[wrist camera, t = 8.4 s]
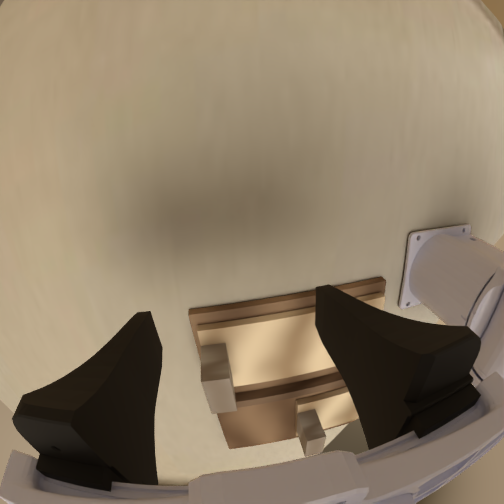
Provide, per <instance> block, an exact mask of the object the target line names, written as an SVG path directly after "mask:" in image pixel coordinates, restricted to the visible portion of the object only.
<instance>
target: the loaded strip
mask: <svg viewBox="0 0 504 504" xmlns="http://www.w3.org/2000/svg"><path fill="white" fill-rule="evenodd" d="M358 418H359V416H358V413H357V411H356V408H355V405H354V403H353V400H352V398H351V395H350V393H349V391H348V388H347V387H344V388H341V389H338V390H334V391H330V392H327V393H323V394H319V395H315V396H311V397H307V398H303V399H298V400H296V413H295V433H296V436H299V439H300V442H301V445H302V448H303V452H304V455H305V457H306V456H310V455H314V454H318V453H321V452H323V448H324V443H325V439H326V435H325V432H324V430H323V429H326V428H330V427H333V426H337V425H340V424H343V423H346V422H349V421H352V420H355V419H358Z"/></svg>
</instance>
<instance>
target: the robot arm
mask: <svg viewBox="0 0 504 504" xmlns="http://www.w3.org/2000/svg"><path fill="white" fill-rule="evenodd" d="M417 236H418V238H417ZM407 302H408V303H407ZM421 303H423V304H424V305H425V306H426V307H427V308H428V309H430V310H431V311H432V312H433V313H434V314H435V315H436V316H437V317H439V318H440V319H441V320H442V321H443V322H444V323H445V324H446V325H438V324H431V323H425V322H420V321H415V320H411V319H407V318H403V317H400V316H397V315H394V314H391V313H388V312H385V311H383V310H380V309H378V308H376V307H373V306H371V305H369V304H367V303H365V302H363V301H361V300H359V299H357V298H355V297H353V296H351V295H349V294H347V293H345V292H343V291H341V290H339V289H337V288H335V287H333V286H331V285H324V286H319V287H316V306H315V326H316V329H317V331H318V334H319V337H320V339H321V341H322V343H323V345H324V347H325V349H326V350H327V352H328V354H329V356H330V357H331V359H332V361H333V362H334V364H335V366H336V368H337V369H338V371H339V373H340V374H341V376H342V378H343V380H344V382H345V384H346V386H347V388H348V391H349V393H350V395H351V398H352V400H353V403H354V405H355V408H356V411H357V413H358V416H359V419H360V422H361V425H362V428H363V431H364V434H365V437H366V441H367V444H368V447H369V450H368V451H365V452H363V453H360V454H357V455H354V453H352V452H346V451H339V450H337V451H332V452H326V453H321V454H317V455H313V456H309V457H305V458H301V459H297V460H292V461H288V462H283V463H278V464H273V465H267V466H261V467H255V468H248V469H240V470H232V471H222V472H216V473H211V474H205V475H201V476H199V477H197V478H195V479H193V480H192V481H190V482H189V483H188V486H159V485H158V478H157V470H156V458H155V439H154V416H155V406H156V399H157V393H158V387H159V381H160V375H161V369H162V345H161V342H160V339H159V336H158V333H157V330H156V327H155V324H154V321H153V318H152V315H151V312H150V311H147V312H137V313H136V314H135V315H134V316H133V317H132V318H131V319H130V320H129V321H128V322H127V323H126V324H125V325H124V326H123V327H122V328H121V330H120V331H119V332H118V333H117V334H116V335H115V336H114V337H113V338H112V339H111V340H110V341H109V342H108V343H107V344H106V345H105V346H103V347H102V348H101V349H100V350H99V351H98V352H97V353H96V354H95V355H94V356H92V357H91V358H90V359H89V360H87V361H86V362H85V363H84V364H82V365H81V366H79V367H78V368H76V369H75V370H73V371H72V372H70V373H69V374H67V375H66V376H64V377H62V378H61V379H59V380H57V381H55V382H53V383H51V384H49V385H47V386H45V387H43V388H40V389H38V390H35V391H33V392H30V393H27V394H24V395H23V396H22V398H21V400H20V402H19V405H18V407H17V409H16V411H15V413H14V416H13V418H12V420H13V423H14V426H15V427H16V429H17V431H18V432H19V433H20V434H21V435H22V436H23V437H24V438H25V439H26V440H27V441H28V442H29V443H30V444H31V445H32V446H33V447H34V448H35V449H36V450H37V451H38V452H39V453H40V455H39V459H36V458H35V457H33V456H30V455H28V454H25V453H22V452H18V451H16V450H12V452H11V455H10V458H9V461H8V463H7V467H6V470H5V473H4V476H3V480H2V483H1V487H0V498H1V499H3V500H4V501H5V502H7V503H8V504H416V502H418V501H419V500H421V499H423V498H425V497H426V496H428V495H430V494H431V493H433V492H434V491H436V490H437V489H439V488H440V487H442V486H443V485H445V484H447V483H448V482H449V481H451V480H452V479H454V478H455V477H456V476H458V475H459V474H461V473H462V472H463V471H464V470H466V469H467V468H468V467H470V466H471V465H472V464H474V463H475V462H476V461H477V460H479V459H480V458H481V457H482V456H483V455H485V454H486V453H487V452H488V451H489V450H491V449H492V448H493V447H494V446H495V445H496V444H497V443H498V442H499V441H500V440H501V439H502V438H503V437H504V251H502V250H500V249H498V248H496V247H494V246H492V245H491V244H489V243H487V242H485V241H483V240H481V239H479V238H477V237H475V236H473V235H471V226H470V225H469V224H465V225H458V226H451V227H445V228H438V229H431V230H424V231H417V232H412V233H411V234H410V235H409V238H408V247H407V255H406V263H405V270H404V277H403V283H402V289H401V295H400V300H399V307H400V308H401V309H405V308H409V307H412V306H415V305H418V304H421ZM471 383H472V384H473V385H474V386H475V387H476V388H475V387H474V386H473V385H472V384H471Z"/></svg>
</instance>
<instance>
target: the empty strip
mask: <svg viewBox="0 0 504 504" xmlns="http://www.w3.org/2000/svg"><path fill="white" fill-rule="evenodd" d="M357 299H359V300H361V301H363V302H365V303H367V304H369V305H371V306H373V307H376V308H378V309H380V310H383V308H384V302H385V295H383V294H382V293H381V292H379V293H375V294H370V295H366V296H362V297H357ZM197 333H198V337H199V341H200V345H201V383H202V386H203V389H204V392H205V395H206V398H207V401H208V404H209V407H210V410H211V413H212V414H215V413H224V412H232V411H237V406H236V399H235V392H234V387H236V386H243V385H249V384H255V383H261V382H267V381H272V380H278V379H283V378H288V377H293V376H297V375H302V374H306V373H310V372H315V371H319V370H323V369H327V368H331V367H335V364H334V362H333V361H332V359H331V357H330V356H329V354H328V352H327V350H326V349H325V347H324V345H323V343H322V341H321V339H320V337H319V334H318V331H317V329H316V326H315V307H310V308H304V309H299V310H294V311H288V312H282V313H277V314H271V315H265V316H259V317H252V318H246V319H239V320H233V321H226V322H219V323H211V324H203V325H197Z"/></svg>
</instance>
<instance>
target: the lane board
mask: <svg viewBox="0 0 504 504" xmlns="http://www.w3.org/2000/svg"><path fill="white" fill-rule="evenodd" d="M385 286H386V280H385V279H384V278H383V277H378V278H374V279H369V280H364V281H359V282H354V283H349V284H344V285H339V286H334V287H335V288H337V289H339V290H341V291H343V292H345V293H347V294H349V295H351V296H353V297H355V298H357V297H362V296H366V295H370V294H375V293H379V292H381V293H382V294H383V295H384V293H385ZM315 306H316V290H313V291H307V292H302V293H296V294H290V295H284V296H278V297H272V298H266V299H260V300H254V301H247V302H240V303H234V304H227V305H220V306H212V307H205V308H197V309H189V319H190V323H191V327H192V331H193V334H194V338H195V342H196V346H197V349H198V353H199V356H200V360H201V345H200V341H199V337H198V333H197V325H203V324H211V323H219V322H226V321H233V320H239V319H246V318H252V317H259V316H265V315H271V314H277V313H282V312H288V311H294V310H299V309H304V308H310V307H315ZM344 387H347V386H346V384H345V382H344V380H343V378H342V376H341V374H340V373H339V371H338V369H337V368H336V366H335V367H331V368H327V369H323V370H319V371H315V372H310V373H306V374H302V375H297V376H293V377H288V378H283V379H278V380H272V381H267V382H261V383H255V384H249V385H243V386H236V387H234V392H235V399H236V406H237V411H232V412H224V413H217V415H218V418H219V421H220V424H221V427H222V430H223V433H224V436H225V439H226V441H227V444H228V447H229V449H233V448H241V447H248V446H255V445H261V444H267V443H272V442H277V441H282V440H287V439H292V438H296V437H299V436H296V433H295V413H296V400H298V399H303V398H307V397H311V396H315V395H319V394H323V393H327V392H330V391H334V390H338V389H341V388H344ZM353 421H355V420H352V421H349V422H346V423H343V424H340V425H337V426H341V425H344V424H347V423H350V422H353ZM337 426H333V427H330V428H326V429H323V430H327V429H331V428H334V427H337Z"/></svg>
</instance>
